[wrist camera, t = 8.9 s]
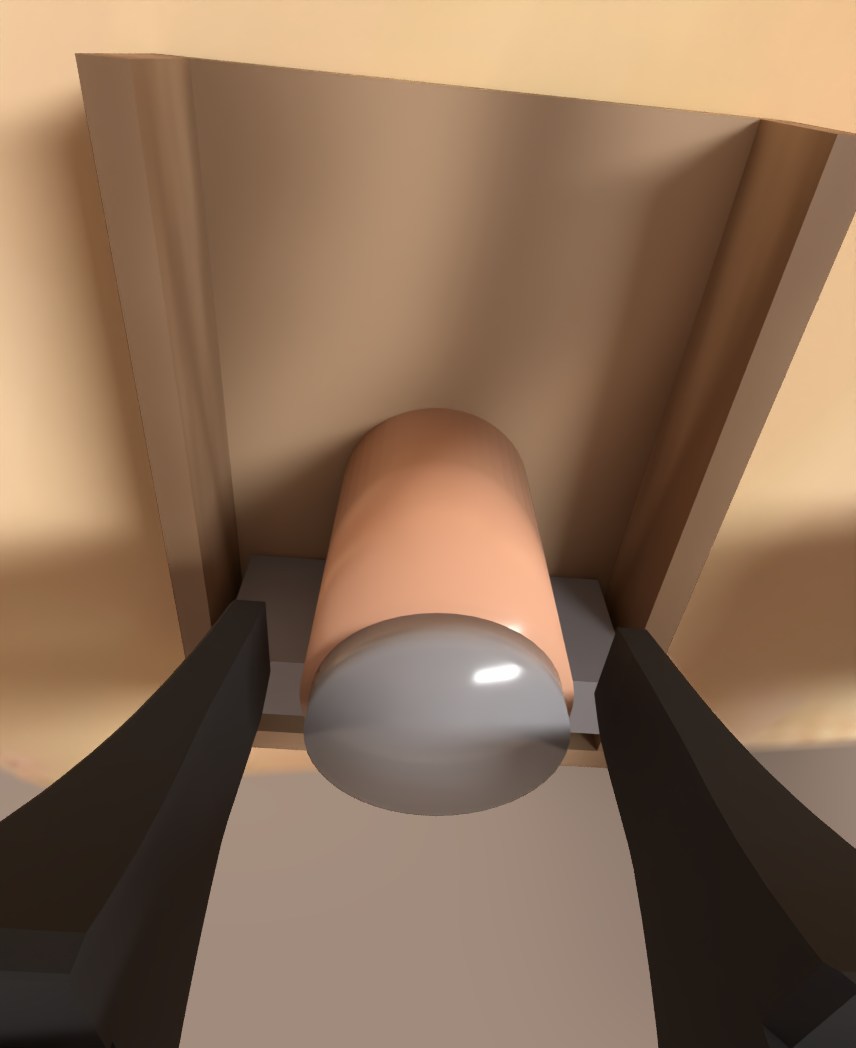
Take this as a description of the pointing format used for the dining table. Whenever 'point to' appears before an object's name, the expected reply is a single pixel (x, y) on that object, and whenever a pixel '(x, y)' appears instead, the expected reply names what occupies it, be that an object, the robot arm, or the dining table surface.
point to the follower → (294, 604)
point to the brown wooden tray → (452, 307)
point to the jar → (436, 626)
